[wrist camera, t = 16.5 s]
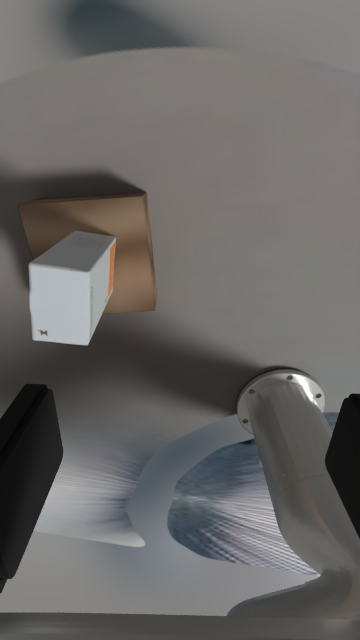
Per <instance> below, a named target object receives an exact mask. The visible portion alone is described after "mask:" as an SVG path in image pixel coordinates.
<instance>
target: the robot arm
mask: <svg viewBox="0 0 360 640" xmlns="http://www.w3.org/2000/svg"><path fill="white" fill-rule="evenodd" d="M324 407H325V396H324V393H323V391H322V389H321V387H320V385H319V384H318V383H317V382H316V380H315V379H313V378H312V377H311V376H309V375H307V374H305V373H303V372H300V371H297V370H289V369H282V370H275V371H270V372H267V373H264V374H262V375H260V376H258V377H256V378H254V379H253V380H252V381H250V382H249V383H248V384H247V385H246V386H245V387H244V388H243V390H242V391H241V393H240V395H239V397H238V400H237V408H236V409H237V414H238V418H239V421H240V423H241V424H242V426H243V427H244V428H245V429H246V430H247V431H248V432H250V433H251V434H253V435H254V437H255V441H256V445H257V448H258V452H259V455H258V458H257V463H258V465H259V466H261V467H263V471H264V475H265V478H266V482H267V486H268V490H269V493H270V497H271V501H272V505H273V508H274V512H275V516H276V520H277V524H278V527H279V529H280V532H281V534H282V536H283V538H284V539H285V541H286V542H287V544H288V545H289V547H290V548H291V549H292V550H293V551H294V552H295V554H296V555H297V556H299V557H300V558H301V559H302V560H303V561H304V562H305V563H307V564H308V565H309V566H310V567H312V568H313V569H314V570H315V571H317V572H318V573H319V574H320V575H321V576H320V577H318V578H317V579H314V580H311V581H308V582H305V584H302V585H298V586H294V587H291V588H287V589H284V590H280V591H276V592H272V593H269V594H265V595H262V596H258V597H255V598H251V599H248V600H245V601H243V602H241V603H239V604H237V605H236V606H235V607H233V608H232V609H231V610H230V611H229V612H228V614H227V615H226V616H195V615H155V614H105V613H0V640H360V394H350V395H349V397H348V398H345V399H344V401H343V403H342V406H341V409H340V412H339V416H338V419H337V422H336V425H335V428H334V431H333V432H332V430H331V428H330V426H329V424H328V423H327V421H326V419H325V417H324V416H323V414H322V413H323V411H324ZM62 457H63V446H62V441H61V435H60V430H59V424H58V418H57V413H56V407H55V401H54V396H53V391H52V390H51V389H48V388H47V386H46V385H44V384H26V385H25V386H24V387H23V388H22V390H21V391H20V392H19V394H18V395H17V397H16V398H15V399H14V401H13V402H12V403H11V405H10V406H9V408H8V409H7V410H6V412H5V413H4V415H3V416H2V417H1V419H0V593H1V592H2V590H3V588H4V585H5V583H6V581H7V579H11V578H13V577H14V575H15V573H16V571H17V569H18V567H19V564H20V562H21V559H22V556H23V554H24V552H25V549H26V547H27V544H28V542H29V540H30V537H31V535H32V532H33V530H34V527H35V525H36V523H37V520H38V518H39V515H40V513H41V510H42V508H43V505H44V503H45V500H46V498H47V496H48V493H49V491H50V488H51V486H52V483H53V481H54V478H55V476H56V473H57V471H58V469H59V466H60V464H61V461H62Z"/></svg>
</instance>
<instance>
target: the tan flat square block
mask: <svg viewBox="0 0 360 640" xmlns="http://www.w3.org/2000/svg"><path fill="white" fill-rule="evenodd" d="M18 208H19V211H20V215H21V219H22V222H23V226H24V230H25V233H26V237H27V241H28V244H29V248H30V251H31V255H32V259H33V260H34V259H36V258H37V257H39V256H40V255H42V254H43V253H45V252H46V251H47V250H49V249H50V248H52V247H53V246H54V245H56V244H57V243H59V242H60V241H61V240H63V239H64V238H66V237H67V236H68V235H70V234H71V233H73V232H74V231H82V232H88V233H95V234H101V235H107V236H114V237H116V244H115V257H114V273H113V291H112V293H111V295H110V298H109V300H108V302H107V304H106V306H105V309H104V311H103V313H102V314H109V313H126V312H144V311H155V306H156V299H157V289H156V279H155V269H154V259H153V250H152V240H151V230H150V220H149V211H148V201H147V192H140V193H125V194H110V195H95V196H81V197H66V198H51V199H37V200H33V201H30V202H26V203H22V204H19V205H18Z"/></svg>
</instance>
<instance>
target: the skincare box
mask: <svg viewBox="0 0 360 640" xmlns="http://www.w3.org/2000/svg"><path fill="white" fill-rule="evenodd" d="M115 244H116V237H114V236H107V235H101V234H95V233H88V232H82V231H74V232H73V233H71V234H70V235H68V236H67V237H66V238H64V239H63V240H61V241H60V242H59V243H57V244H56V245H54V246H53V247H52V248H50V249H49V250H47V251H46V252H45V253H43V254H42V255H40V256H39V257H37V258H36V259H34V260H33V261H31V262H30V263H29V265H28V269H29V287H30V297H29V306H30V312H31V325H32V339H33V340H36V341H48V342H58V343H67V344H76V345H88V344H89V342H90V339H91V337H92V335H93V333H94V331H95V328H96V326H97V324H98V322H99V320H100V317H101V315H102V313H103V311H104V309H105V306H106V304H107V302H108V300H109V298H110V295H111V293H112V291H113V273H114V257H115Z"/></svg>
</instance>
